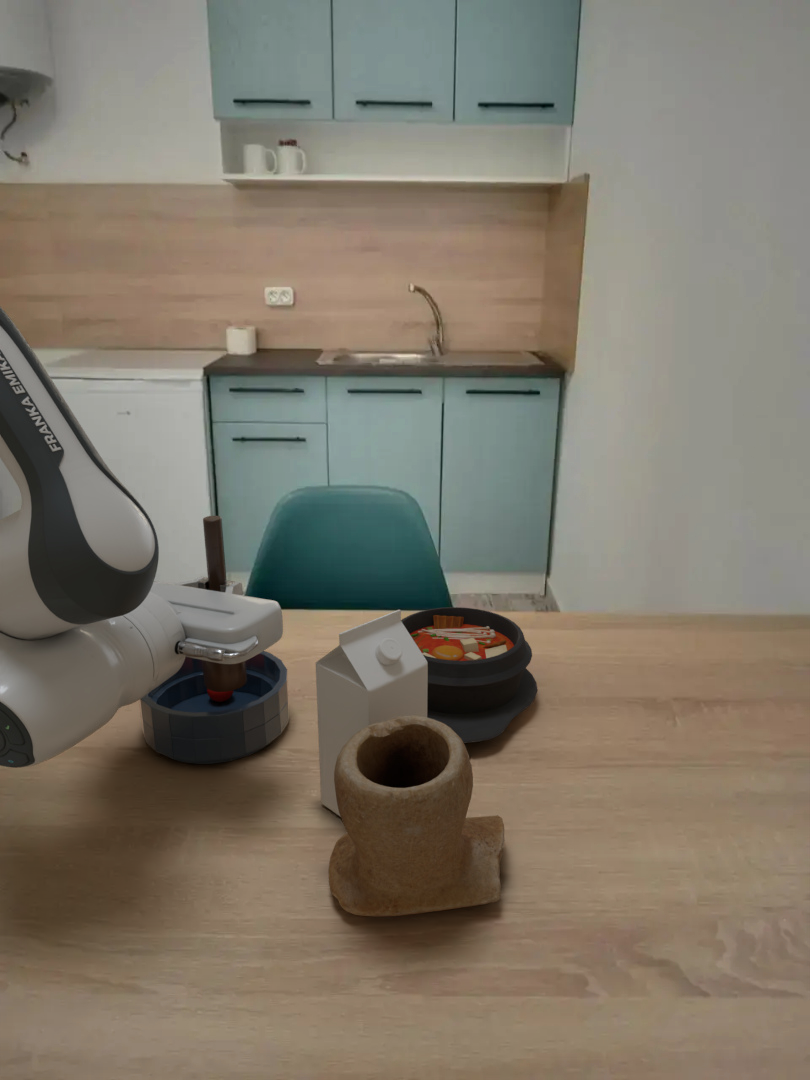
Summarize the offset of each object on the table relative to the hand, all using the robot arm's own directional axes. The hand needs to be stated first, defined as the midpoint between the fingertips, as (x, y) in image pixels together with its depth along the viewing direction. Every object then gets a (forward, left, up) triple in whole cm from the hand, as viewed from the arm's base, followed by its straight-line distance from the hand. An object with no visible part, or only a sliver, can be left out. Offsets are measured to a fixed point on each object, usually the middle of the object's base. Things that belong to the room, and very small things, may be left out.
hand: (222, 585), depth 84 cm
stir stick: (+1, -1, -10) cm, 11 cm away
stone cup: (+31, -1, -17) cm, 35 cm away
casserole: (+11, +23, -17) cm, 31 cm away
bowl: (-2, -1, -17) cm, 17 cm away
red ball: (-6, +2, -15) cm, 16 cm away
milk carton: (+20, +3, -17) cm, 27 cm away
